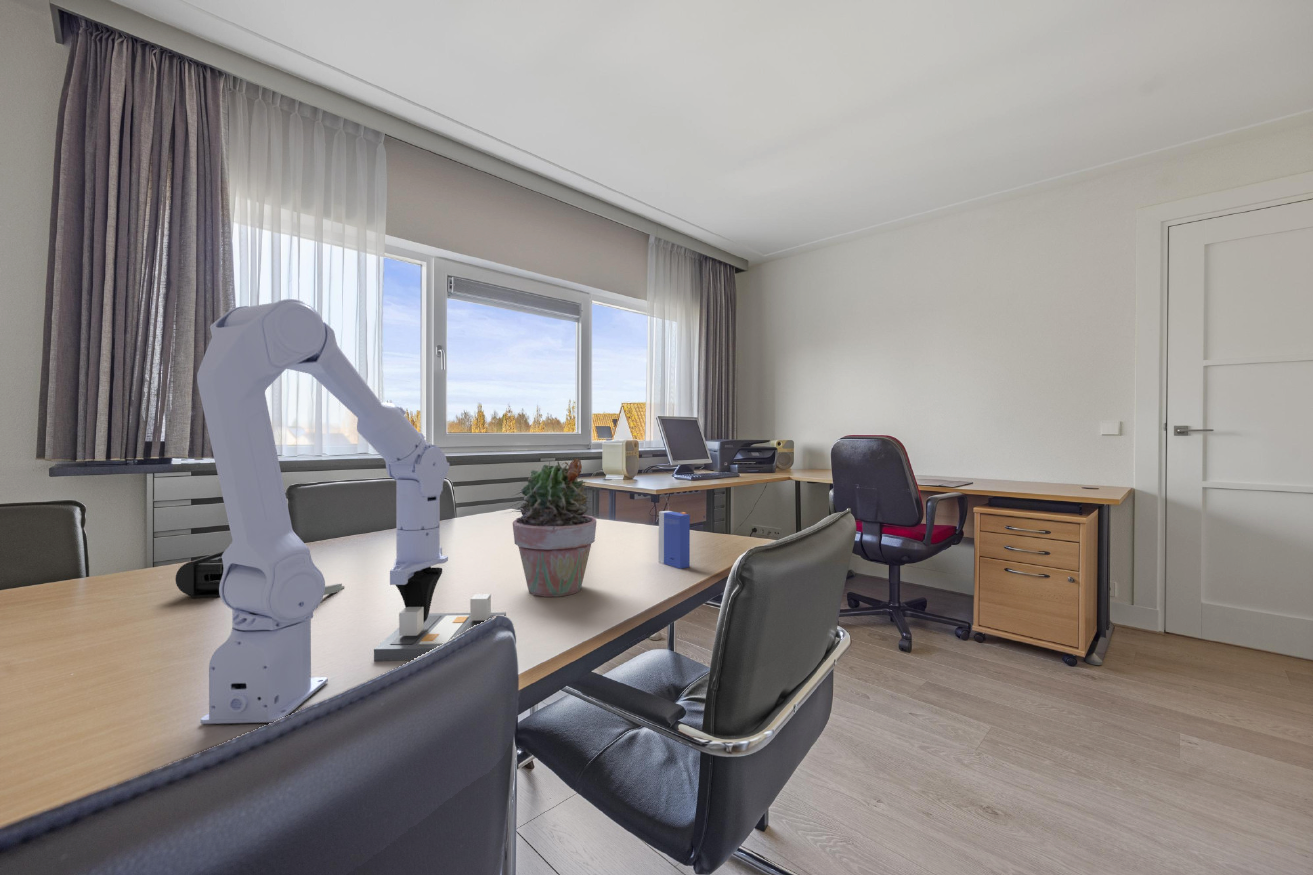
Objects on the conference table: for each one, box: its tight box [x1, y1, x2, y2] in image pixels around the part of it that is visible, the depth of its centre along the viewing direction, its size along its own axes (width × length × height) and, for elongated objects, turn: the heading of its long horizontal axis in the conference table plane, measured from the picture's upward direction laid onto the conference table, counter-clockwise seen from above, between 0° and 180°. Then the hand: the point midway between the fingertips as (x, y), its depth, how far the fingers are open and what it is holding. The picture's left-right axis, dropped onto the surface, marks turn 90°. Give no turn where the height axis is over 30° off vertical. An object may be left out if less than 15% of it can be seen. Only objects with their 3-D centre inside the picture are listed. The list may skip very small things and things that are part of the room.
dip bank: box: [373, 611, 507, 662], centre depth 79 cm, size 14×14×2 cm
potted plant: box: [502, 458, 604, 598], centre depth 105 cm, size 18×20×25 cm
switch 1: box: [398, 607, 424, 636], centre depth 77 cm, size 2×2×3 cm
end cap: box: [174, 550, 225, 599], centre depth 103 cm, size 10×7×7 cm
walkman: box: [658, 510, 691, 570], centre depth 124 cm, size 8×3×12 cm, turn 37°
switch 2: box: [469, 593, 492, 621], centre depth 83 cm, size 2×2×3 cm
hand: (418, 621), depth 79 cm, fingers closed
